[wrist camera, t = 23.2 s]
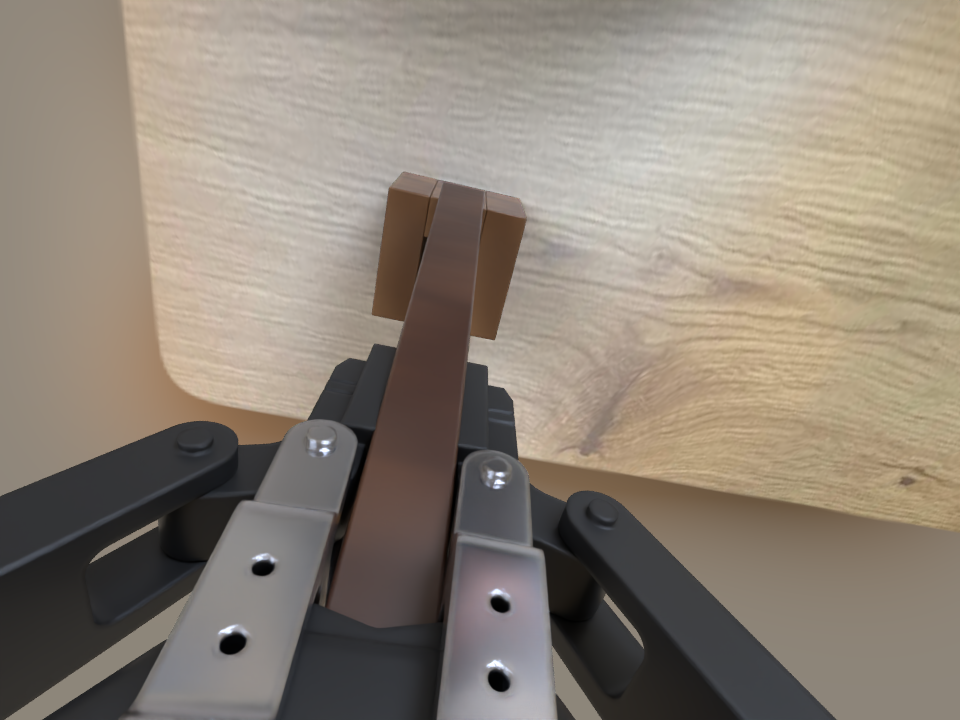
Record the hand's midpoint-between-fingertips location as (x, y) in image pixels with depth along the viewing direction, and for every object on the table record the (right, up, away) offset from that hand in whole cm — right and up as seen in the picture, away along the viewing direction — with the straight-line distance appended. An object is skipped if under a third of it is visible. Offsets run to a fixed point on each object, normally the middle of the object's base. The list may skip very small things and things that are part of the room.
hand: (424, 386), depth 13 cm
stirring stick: (+1, +7, +6) cm, 9 cm away
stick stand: (0, +6, +11) cm, 13 cm away
